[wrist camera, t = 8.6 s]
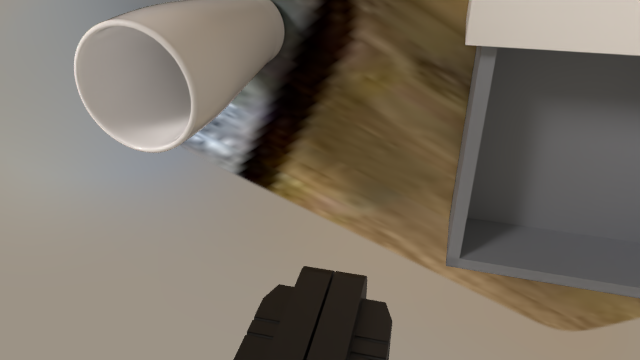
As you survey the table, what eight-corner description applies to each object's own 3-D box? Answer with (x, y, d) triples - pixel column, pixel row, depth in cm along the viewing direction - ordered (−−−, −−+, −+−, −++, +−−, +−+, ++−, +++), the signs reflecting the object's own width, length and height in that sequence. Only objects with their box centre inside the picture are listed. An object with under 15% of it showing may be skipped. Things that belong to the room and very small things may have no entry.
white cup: (213, -32, 34) (62, 2, 21) (302, -11, 33) (199, 37, 20) (209, 60, 38) (78, 135, 25) (290, 81, 37) (195, 170, 24)
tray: (649, 249, 35) (679, 304, 30) (449, 219, 38) (445, 265, 33) (762, -17, 26) (831, 0, 21) (488, -25, 29) (491, -12, 24)
